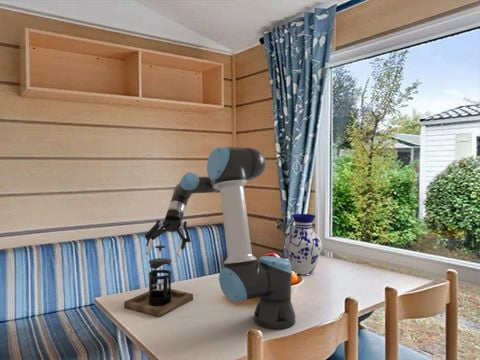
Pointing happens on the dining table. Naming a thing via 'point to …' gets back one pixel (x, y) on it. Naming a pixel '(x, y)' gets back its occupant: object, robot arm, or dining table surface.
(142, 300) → the walnut tray
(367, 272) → the dining table surface
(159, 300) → the french press
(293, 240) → the vase
